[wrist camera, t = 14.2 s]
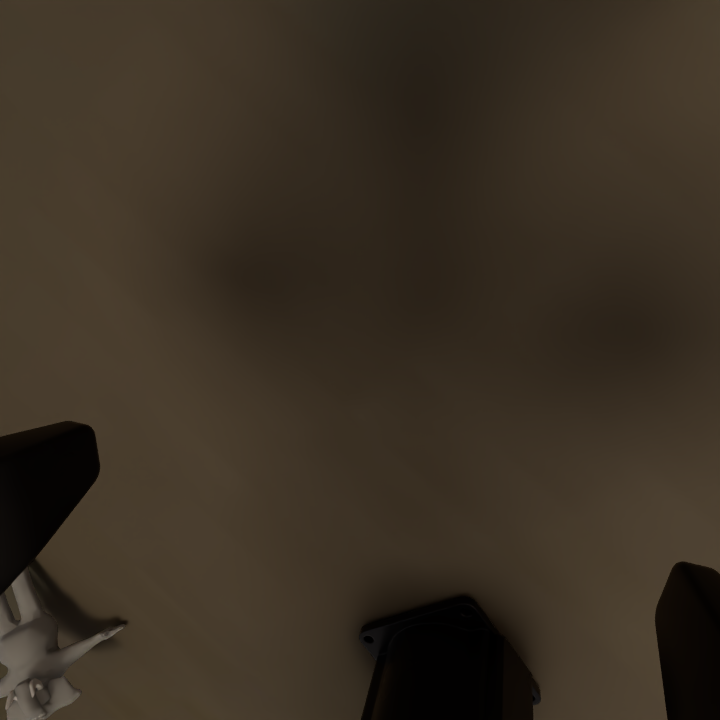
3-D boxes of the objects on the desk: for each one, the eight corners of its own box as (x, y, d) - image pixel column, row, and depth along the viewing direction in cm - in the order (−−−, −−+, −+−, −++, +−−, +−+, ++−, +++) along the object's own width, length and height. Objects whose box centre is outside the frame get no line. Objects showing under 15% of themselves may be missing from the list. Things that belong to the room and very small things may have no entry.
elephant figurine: (71, 525, 29) (128, 681, 28) (100, 520, 35) (149, 649, 34) (-132, 616, 26) (-78, 794, 25) (-64, 594, 32) (-17, 738, 31)
